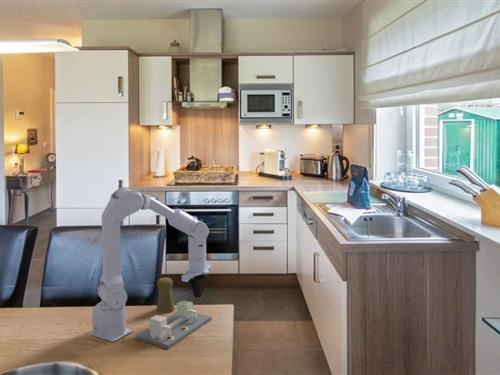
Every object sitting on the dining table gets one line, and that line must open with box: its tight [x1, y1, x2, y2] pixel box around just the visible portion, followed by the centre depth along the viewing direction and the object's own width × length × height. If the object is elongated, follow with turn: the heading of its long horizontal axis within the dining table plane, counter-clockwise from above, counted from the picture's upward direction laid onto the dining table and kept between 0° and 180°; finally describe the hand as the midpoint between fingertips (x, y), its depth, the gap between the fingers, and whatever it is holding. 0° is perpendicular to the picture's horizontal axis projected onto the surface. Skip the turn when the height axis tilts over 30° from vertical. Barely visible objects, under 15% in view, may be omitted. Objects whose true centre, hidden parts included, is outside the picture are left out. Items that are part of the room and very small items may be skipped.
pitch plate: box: [135, 311, 212, 350], centre depth 140 cm, size 12×22×6 cm, turn 152°
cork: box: [156, 277, 175, 314], centre depth 154 cm, size 6×6×11 cm
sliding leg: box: [176, 299, 198, 320], centre depth 144 cm, size 6×3×5 cm, turn 62°
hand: (197, 296), depth 151 cm, fingers closed
